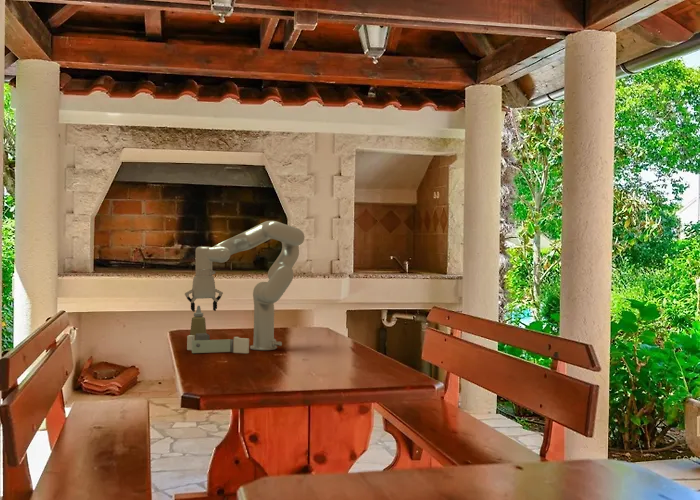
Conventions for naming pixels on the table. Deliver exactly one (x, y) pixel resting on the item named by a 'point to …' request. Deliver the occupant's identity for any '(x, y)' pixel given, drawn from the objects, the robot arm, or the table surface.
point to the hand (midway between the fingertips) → (203, 311)
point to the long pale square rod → (212, 346)
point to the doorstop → (202, 336)
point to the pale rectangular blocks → (239, 344)
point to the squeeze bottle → (198, 323)
